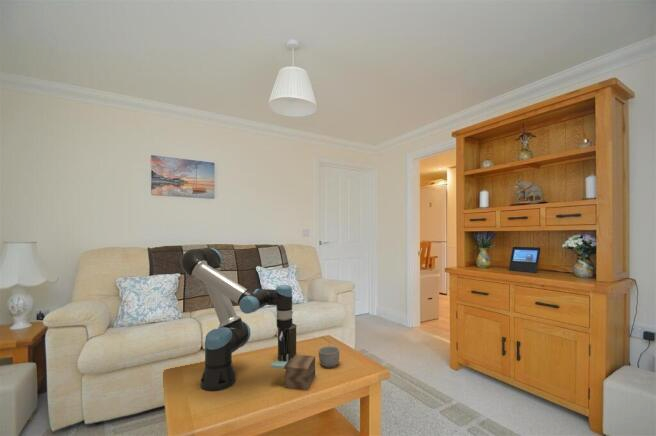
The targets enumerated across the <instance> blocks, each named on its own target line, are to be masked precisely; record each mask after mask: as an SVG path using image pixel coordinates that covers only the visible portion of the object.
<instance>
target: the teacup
mask: <svg viewBox="0 0 656 436" xmlns="http://www.w3.org/2000/svg"><path fill="white" fill-rule="evenodd" d="M318 358H319V360H318V361H319V363H320V364H321V365H322V366H323V367H324V368H333V367H335V366H337V365H338V363H339V361H340V348H339V347H337V346H335V345H330V344H328V345H326V346H322V347H320V348H318Z"/></svg>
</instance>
